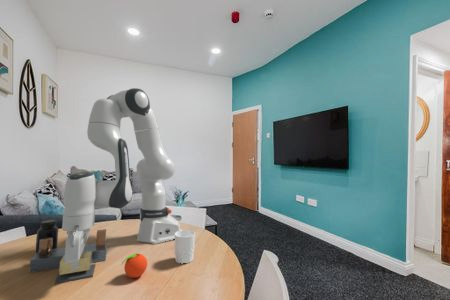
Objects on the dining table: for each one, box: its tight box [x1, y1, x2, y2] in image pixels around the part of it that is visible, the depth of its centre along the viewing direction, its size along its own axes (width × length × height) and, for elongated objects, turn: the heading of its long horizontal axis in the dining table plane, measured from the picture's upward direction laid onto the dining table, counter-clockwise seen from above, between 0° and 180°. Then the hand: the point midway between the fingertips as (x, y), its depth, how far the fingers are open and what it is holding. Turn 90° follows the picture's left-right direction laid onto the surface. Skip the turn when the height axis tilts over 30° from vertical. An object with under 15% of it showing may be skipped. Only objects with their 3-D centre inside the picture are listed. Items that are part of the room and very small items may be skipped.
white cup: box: [174, 229, 196, 265], centre depth 82 cm, size 8×8×10 cm
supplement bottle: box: [34, 219, 59, 254], centre depth 87 cm, size 7×7×12 cm
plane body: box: [29, 228, 108, 273], centre depth 79 cm, size 22×8×10 cm, turn 116°
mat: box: [53, 263, 96, 285], centre depth 71 cm, size 10×8×1 cm
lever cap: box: [58, 251, 93, 275], centre depth 71 cm, size 8×5×4 cm, turn 116°
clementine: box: [121, 253, 148, 279], centre depth 70 cm, size 8×7×7 cm
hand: (77, 264), depth 71 cm, fingers closed on lever cap, 5 cm apart
